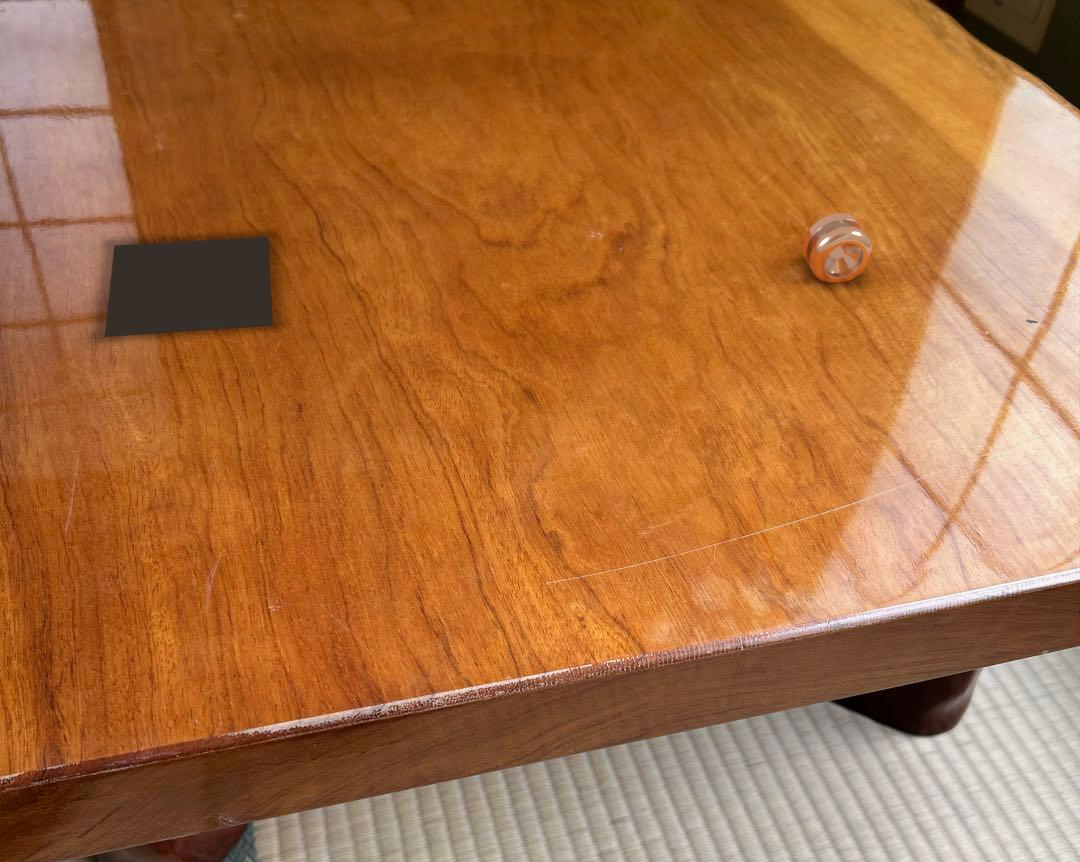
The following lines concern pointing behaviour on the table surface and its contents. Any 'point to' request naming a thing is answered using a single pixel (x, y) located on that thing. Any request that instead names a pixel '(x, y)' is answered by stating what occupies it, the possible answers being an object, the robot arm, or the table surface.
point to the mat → (189, 286)
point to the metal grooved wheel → (837, 248)
